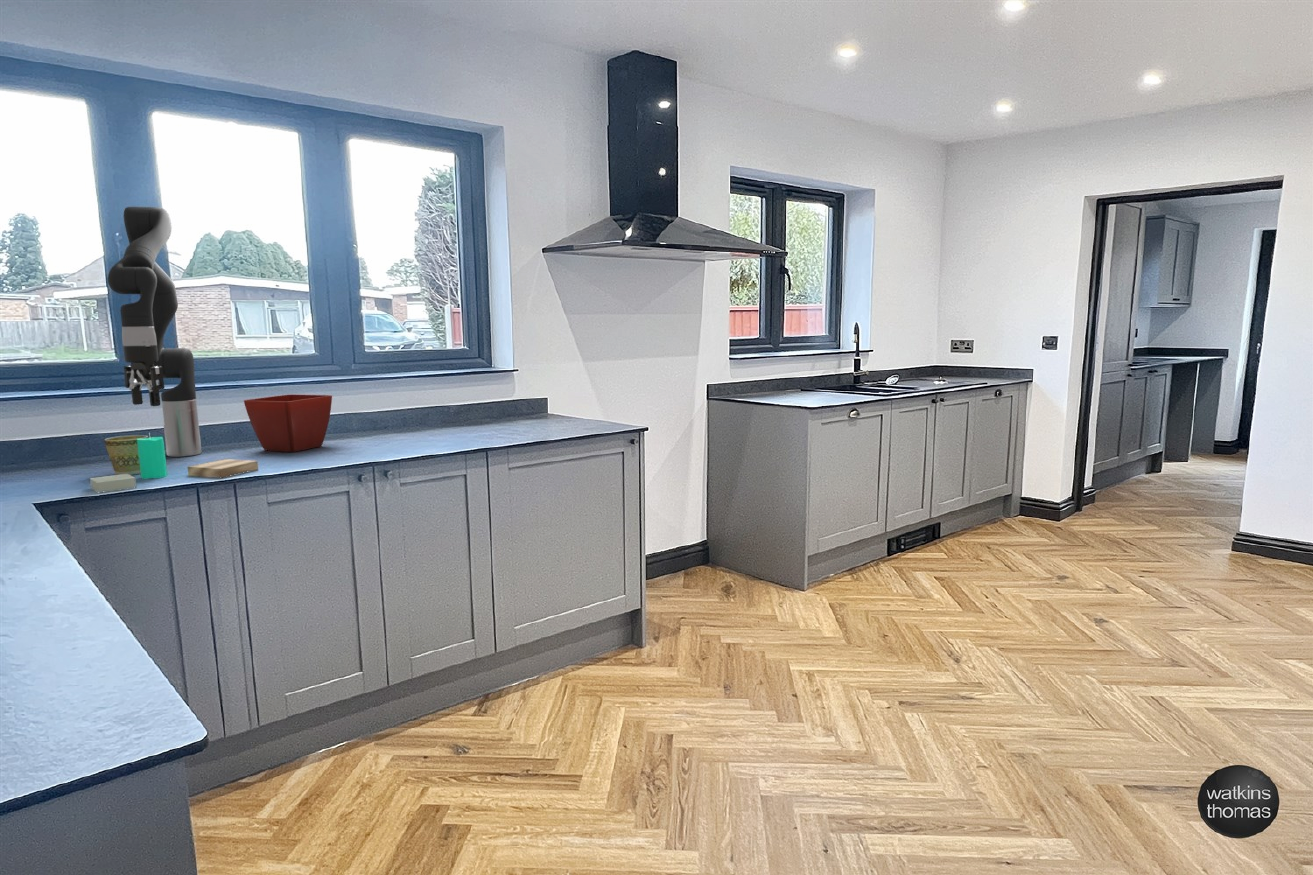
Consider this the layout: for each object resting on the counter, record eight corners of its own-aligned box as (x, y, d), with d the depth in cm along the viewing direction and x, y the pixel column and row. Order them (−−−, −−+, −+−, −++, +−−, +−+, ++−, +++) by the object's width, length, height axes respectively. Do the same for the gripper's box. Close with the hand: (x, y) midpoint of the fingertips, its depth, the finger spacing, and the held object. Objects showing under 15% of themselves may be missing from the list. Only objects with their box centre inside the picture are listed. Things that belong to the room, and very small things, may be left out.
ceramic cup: (119, 478, 209) (114, 441, 208) (101, 474, 214) (97, 438, 213) (170, 470, 220) (166, 435, 218) (152, 466, 225) (148, 432, 224)
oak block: (188, 477, 212) (187, 466, 211) (226, 469, 223) (225, 458, 223) (221, 480, 208) (220, 469, 207) (258, 471, 219) (257, 461, 219)
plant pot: (246, 451, 250) (241, 399, 247) (294, 442, 267) (290, 393, 264) (291, 455, 242) (286, 401, 240) (337, 445, 260) (333, 395, 257)
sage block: (91, 489, 197) (90, 478, 196) (128, 484, 202) (127, 473, 202) (98, 494, 191) (96, 482, 191) (136, 489, 197) (135, 477, 196)
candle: (139, 479, 207) (134, 435, 205) (142, 475, 212) (137, 432, 210) (166, 477, 210) (161, 433, 208) (168, 473, 215) (163, 430, 213)
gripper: (110, 344, 206) (117, 405, 208) (139, 344, 199) (146, 407, 201) (140, 343, 212) (146, 402, 215) (169, 343, 205) (176, 405, 208)
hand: (146, 405), depth 208 cm, fingers open, 8 cm apart
